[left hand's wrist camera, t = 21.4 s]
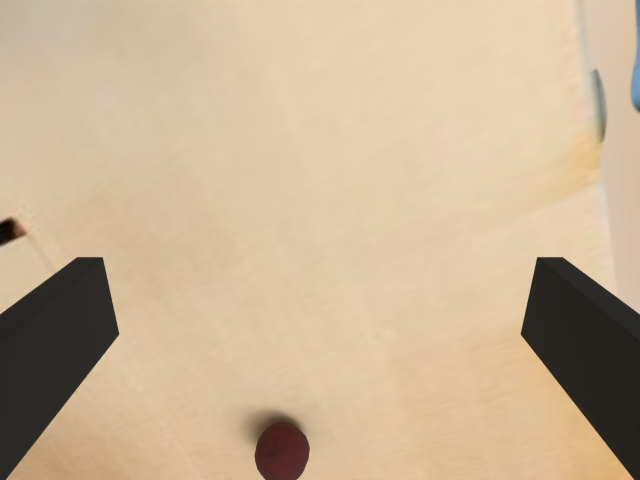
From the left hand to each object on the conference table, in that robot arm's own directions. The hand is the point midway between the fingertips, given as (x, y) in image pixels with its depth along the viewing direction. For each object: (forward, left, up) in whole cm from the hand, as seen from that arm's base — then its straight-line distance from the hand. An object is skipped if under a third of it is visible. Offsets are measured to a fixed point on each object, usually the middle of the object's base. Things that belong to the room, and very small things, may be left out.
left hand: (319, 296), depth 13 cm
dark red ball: (+41, +5, -34) cm, 53 cm away
